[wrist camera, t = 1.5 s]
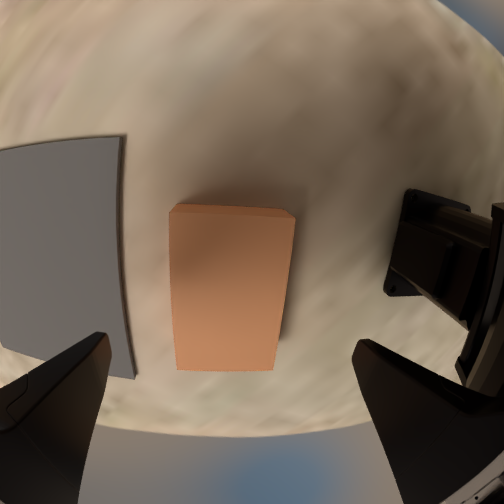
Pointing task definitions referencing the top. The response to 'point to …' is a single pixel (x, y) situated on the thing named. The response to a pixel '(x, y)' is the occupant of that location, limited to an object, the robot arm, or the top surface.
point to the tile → (228, 285)
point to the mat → (62, 249)
